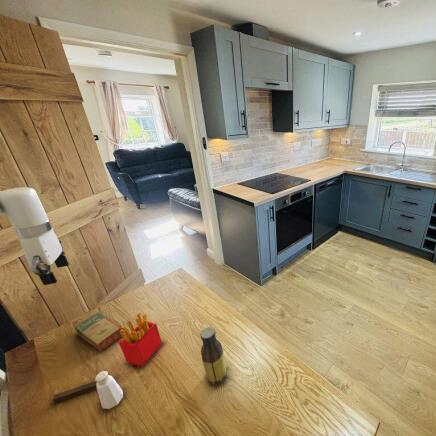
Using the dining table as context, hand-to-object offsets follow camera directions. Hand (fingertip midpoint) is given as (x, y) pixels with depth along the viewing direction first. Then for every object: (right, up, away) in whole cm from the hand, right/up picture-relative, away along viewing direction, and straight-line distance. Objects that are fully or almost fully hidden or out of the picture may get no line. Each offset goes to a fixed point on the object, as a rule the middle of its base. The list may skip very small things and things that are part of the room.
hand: (57, 274), depth 79 cm
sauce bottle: (+54, -32, -2) cm, 63 cm away
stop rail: (+16, -34, -7) cm, 38 cm away
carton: (+6, -26, +11) cm, 28 cm away
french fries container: (+26, -29, +5) cm, 39 cm away
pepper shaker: (+25, -35, -9) cm, 44 cm away
